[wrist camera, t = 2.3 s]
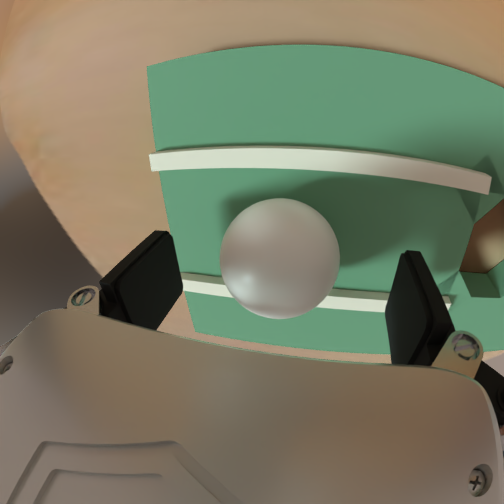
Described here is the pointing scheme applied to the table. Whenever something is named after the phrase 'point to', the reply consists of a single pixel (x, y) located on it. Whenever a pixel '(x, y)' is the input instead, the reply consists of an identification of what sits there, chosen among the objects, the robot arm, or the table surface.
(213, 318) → the putting mat
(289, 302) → the ball
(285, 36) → the table surface
